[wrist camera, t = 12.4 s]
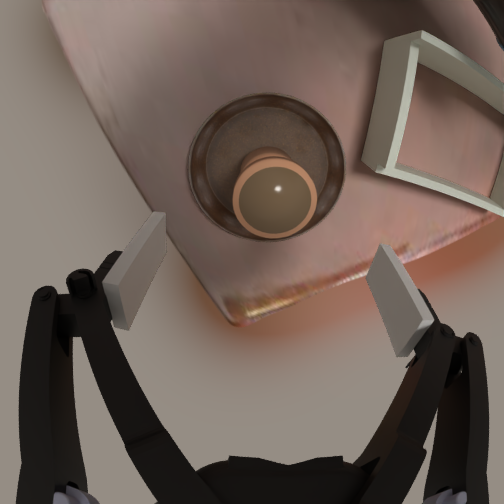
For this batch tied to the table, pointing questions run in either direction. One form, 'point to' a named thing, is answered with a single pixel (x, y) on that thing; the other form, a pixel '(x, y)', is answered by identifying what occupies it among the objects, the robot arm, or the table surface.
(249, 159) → the terracotta pot
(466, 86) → the frame
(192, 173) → the plant saucer
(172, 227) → the table surface
